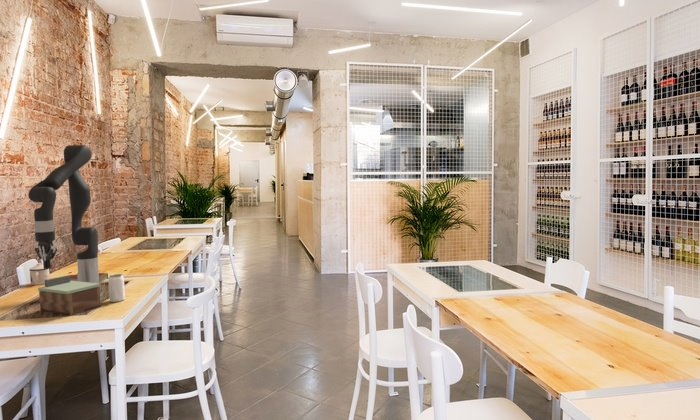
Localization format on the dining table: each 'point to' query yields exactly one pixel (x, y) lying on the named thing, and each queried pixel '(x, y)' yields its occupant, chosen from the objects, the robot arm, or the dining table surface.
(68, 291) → the lid
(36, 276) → the teacup with lid
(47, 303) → the chest
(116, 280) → the can
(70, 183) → the robot arm
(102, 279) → the hardcover book
